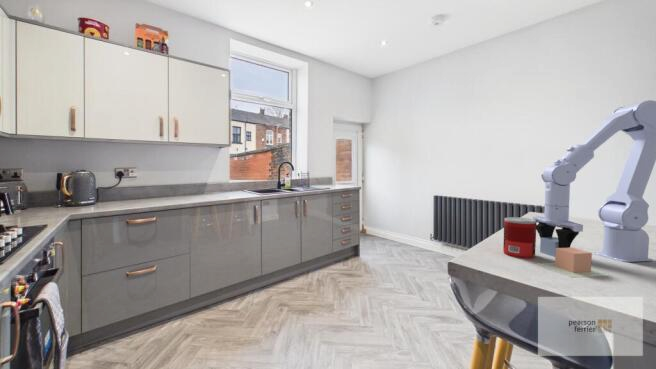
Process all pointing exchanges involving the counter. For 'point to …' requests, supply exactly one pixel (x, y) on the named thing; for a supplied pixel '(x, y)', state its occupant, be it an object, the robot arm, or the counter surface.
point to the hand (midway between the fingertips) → (554, 250)
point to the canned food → (519, 237)
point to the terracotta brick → (573, 260)
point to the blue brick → (549, 245)
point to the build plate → (570, 274)
